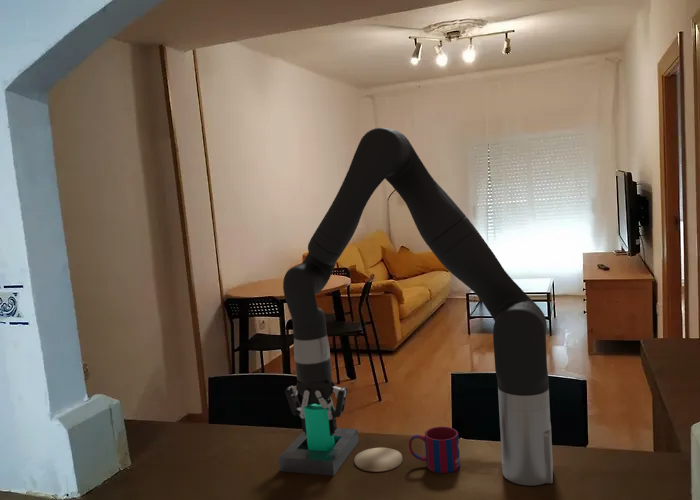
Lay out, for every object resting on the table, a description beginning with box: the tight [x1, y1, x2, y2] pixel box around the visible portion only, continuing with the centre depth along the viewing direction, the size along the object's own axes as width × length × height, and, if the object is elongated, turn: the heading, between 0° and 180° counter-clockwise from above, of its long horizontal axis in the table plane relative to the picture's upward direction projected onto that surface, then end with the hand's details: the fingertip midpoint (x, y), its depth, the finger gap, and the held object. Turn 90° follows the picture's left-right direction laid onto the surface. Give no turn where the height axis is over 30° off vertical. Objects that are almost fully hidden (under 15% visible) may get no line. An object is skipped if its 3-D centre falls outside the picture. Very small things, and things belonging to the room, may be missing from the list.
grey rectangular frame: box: [278, 427, 359, 477], centre depth 131 cm, size 12×16×3 cm
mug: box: [408, 426, 461, 474], centre depth 122 cm, size 7×10×7 cm
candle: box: [304, 404, 335, 452], centre depth 130 cm, size 6×6×12 cm
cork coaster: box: [354, 447, 403, 473], centre depth 126 cm, size 10×10×1 cm
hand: (320, 433), depth 130 cm, fingers closed on candle, 4 cm apart
